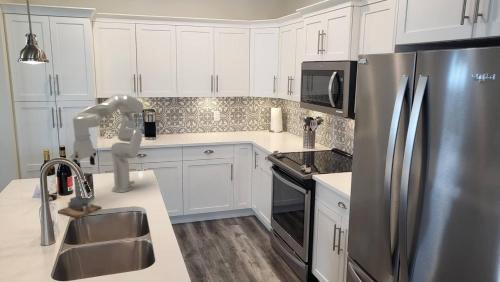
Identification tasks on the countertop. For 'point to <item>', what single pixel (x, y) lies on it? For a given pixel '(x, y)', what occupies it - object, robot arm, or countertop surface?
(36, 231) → the countertop surface
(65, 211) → the pin tray
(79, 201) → the dark grey block
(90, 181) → the coffee box
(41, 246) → the countertop surface
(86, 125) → the robot arm
